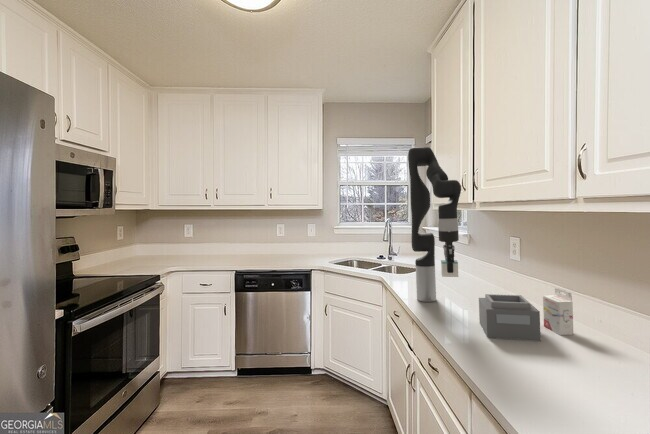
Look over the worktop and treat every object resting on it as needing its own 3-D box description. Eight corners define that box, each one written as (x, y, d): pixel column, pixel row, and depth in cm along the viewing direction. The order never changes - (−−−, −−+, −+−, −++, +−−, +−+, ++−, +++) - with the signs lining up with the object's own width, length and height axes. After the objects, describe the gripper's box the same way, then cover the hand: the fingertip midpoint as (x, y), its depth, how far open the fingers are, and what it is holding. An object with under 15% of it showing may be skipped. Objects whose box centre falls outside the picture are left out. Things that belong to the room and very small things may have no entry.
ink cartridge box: (542, 326, 115) (541, 287, 115) (556, 325, 115) (555, 286, 115) (559, 335, 106) (558, 293, 106) (574, 335, 106) (573, 292, 106)
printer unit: (479, 322, 121) (478, 292, 121) (525, 325, 117) (524, 293, 116) (487, 338, 107) (486, 303, 107) (540, 341, 103) (539, 305, 102)
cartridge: (441, 274, 129) (441, 260, 129) (457, 274, 127) (456, 260, 127) (442, 276, 125) (441, 262, 125) (458, 277, 123) (457, 262, 123)
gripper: (437, 228, 133) (438, 267, 134) (439, 231, 120) (441, 275, 120) (456, 227, 131) (457, 267, 132) (460, 230, 118) (462, 275, 118)
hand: (449, 271), depth 126 cm, fingers closed on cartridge, 4 cm apart
